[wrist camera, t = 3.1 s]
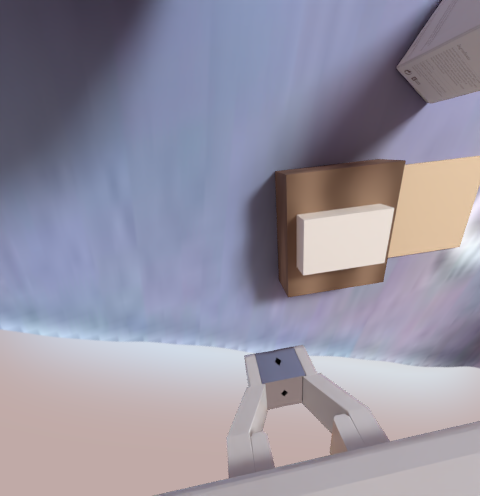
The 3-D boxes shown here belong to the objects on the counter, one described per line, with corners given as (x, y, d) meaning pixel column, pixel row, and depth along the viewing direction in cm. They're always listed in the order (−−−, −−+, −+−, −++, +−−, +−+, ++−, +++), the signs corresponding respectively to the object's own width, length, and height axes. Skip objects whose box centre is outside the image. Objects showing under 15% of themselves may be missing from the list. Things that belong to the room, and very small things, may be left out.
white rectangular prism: (380, 203, 24) (394, 208, 22) (372, 255, 26) (384, 262, 24) (296, 214, 23) (304, 220, 21) (296, 266, 25) (303, 275, 24)
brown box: (377, 159, 26) (405, 160, 22) (363, 266, 31) (383, 281, 28) (275, 171, 25) (286, 174, 21) (278, 279, 31) (288, 297, 27)
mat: (486, 154, 27) (489, 154, 27) (457, 245, 32) (459, 246, 32) (376, 168, 26) (378, 168, 26) (363, 260, 31) (365, 261, 31)
